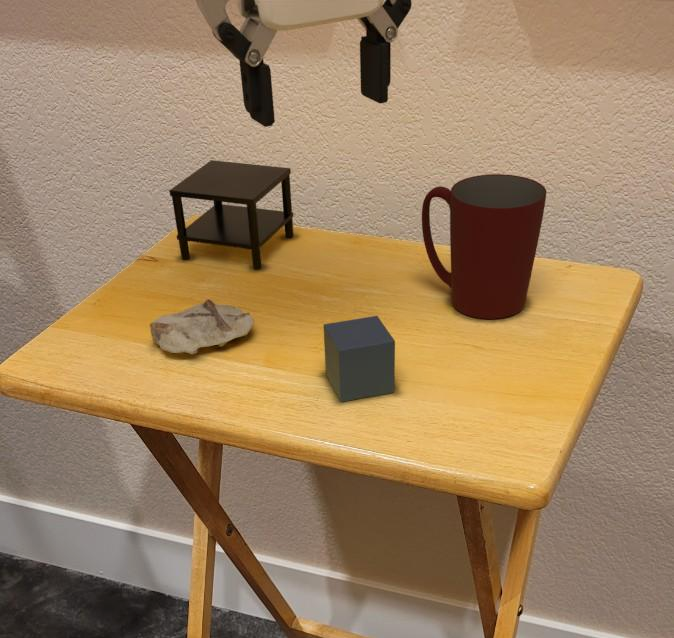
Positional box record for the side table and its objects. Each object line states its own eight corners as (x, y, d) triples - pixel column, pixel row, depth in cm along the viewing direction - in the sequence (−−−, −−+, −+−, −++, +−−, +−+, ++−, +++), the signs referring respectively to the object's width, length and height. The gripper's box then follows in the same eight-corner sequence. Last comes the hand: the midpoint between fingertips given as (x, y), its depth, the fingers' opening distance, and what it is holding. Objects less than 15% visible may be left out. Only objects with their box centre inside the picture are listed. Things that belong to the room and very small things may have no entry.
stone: (230, 312, 90) (227, 287, 88) (264, 340, 86) (261, 314, 84) (144, 338, 87) (139, 313, 85) (174, 369, 82) (169, 343, 80)
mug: (402, 306, 90) (404, 194, 82) (437, 272, 96) (443, 165, 88) (513, 330, 86) (527, 214, 78) (544, 293, 91) (559, 181, 84)
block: (340, 402, 77) (338, 350, 74) (325, 374, 81) (323, 323, 77) (394, 392, 78) (395, 340, 75) (377, 365, 82) (377, 315, 78)
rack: (259, 270, 97) (253, 199, 92) (180, 259, 100) (169, 190, 95) (294, 236, 104) (290, 168, 99) (219, 226, 107) (211, 160, 101)
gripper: (392, -199, 61) (392, 80, 73) (155, -179, 55) (196, 118, 67) (452, -197, 56) (441, 102, 68) (198, -176, 51) (235, 145, 63)
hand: (319, 110), depth 68 cm, fingers open, 9 cm apart
